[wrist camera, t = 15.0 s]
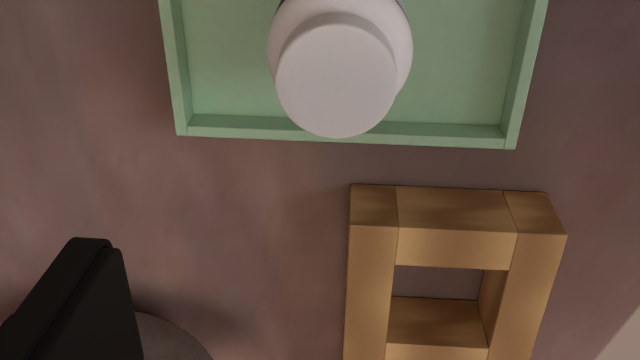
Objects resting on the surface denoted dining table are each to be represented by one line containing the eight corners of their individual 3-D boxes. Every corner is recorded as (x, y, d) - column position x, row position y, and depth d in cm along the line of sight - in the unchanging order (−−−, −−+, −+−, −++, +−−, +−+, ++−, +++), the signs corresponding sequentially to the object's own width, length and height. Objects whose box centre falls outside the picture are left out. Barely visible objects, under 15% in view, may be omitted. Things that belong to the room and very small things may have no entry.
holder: (546, 191, 32) (568, 235, 28) (487, 410, 42) (498, 461, 39) (350, 183, 32) (349, 225, 29) (339, 401, 42) (337, 451, 39)
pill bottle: (278, 47, 28) (243, 141, 19) (295, -69, 25) (263, -18, 16) (386, 69, 28) (396, 171, 20) (415, -44, 25) (442, 19, 17)
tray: (568, -159, 23) (585, -159, 21) (506, 131, 30) (515, 150, 28) (150, -167, 24) (134, -166, 22) (186, 119, 31) (175, 136, 29)
